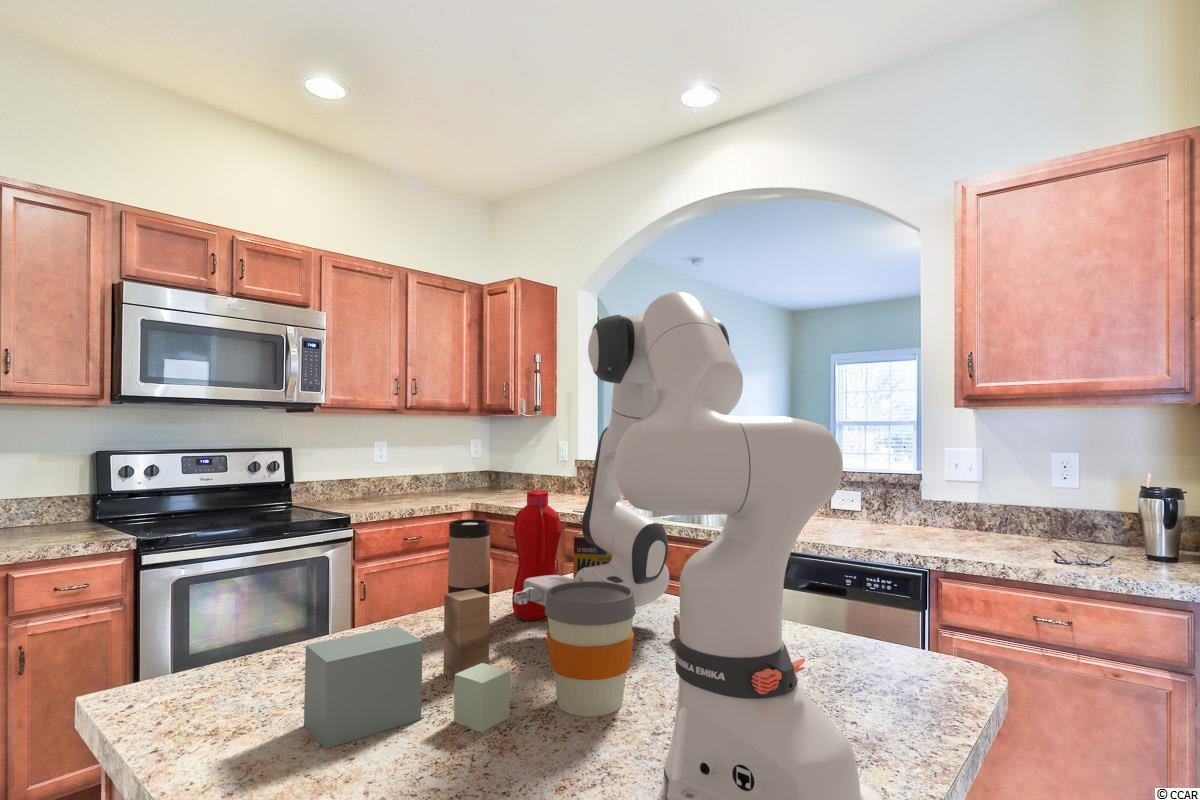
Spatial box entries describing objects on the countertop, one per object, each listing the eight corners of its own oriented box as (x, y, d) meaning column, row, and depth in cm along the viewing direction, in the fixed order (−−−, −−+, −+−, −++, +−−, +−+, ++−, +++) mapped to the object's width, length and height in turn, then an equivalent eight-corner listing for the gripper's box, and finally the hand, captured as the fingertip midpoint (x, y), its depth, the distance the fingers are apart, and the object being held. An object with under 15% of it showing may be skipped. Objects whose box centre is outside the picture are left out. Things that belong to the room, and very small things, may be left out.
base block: (421, 719, 83) (422, 640, 83) (324, 749, 75) (326, 662, 75) (395, 699, 89) (396, 626, 89) (303, 725, 81) (305, 644, 81)
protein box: (572, 613, 131) (572, 536, 132) (587, 594, 146) (587, 525, 147) (623, 616, 129) (623, 538, 130) (633, 596, 144) (633, 527, 145)
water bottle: (520, 626, 122) (521, 494, 123) (509, 610, 132) (510, 488, 134) (567, 621, 125) (567, 492, 126) (553, 607, 135) (554, 487, 137)
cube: (509, 717, 84) (510, 670, 84) (482, 732, 79) (482, 683, 80) (481, 708, 86) (482, 662, 87) (453, 722, 82) (454, 674, 82)
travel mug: (439, 634, 117) (441, 523, 118) (460, 622, 124) (461, 518, 125) (477, 638, 115) (478, 525, 116) (496, 625, 122) (497, 520, 123)
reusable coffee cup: (651, 695, 90) (651, 587, 91) (606, 731, 80) (607, 608, 80) (576, 677, 97) (576, 577, 97) (525, 708, 86) (526, 595, 87)
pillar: (488, 674, 98) (489, 595, 98) (459, 683, 95) (460, 600, 95) (472, 665, 102) (473, 589, 102) (443, 673, 98) (444, 594, 99)
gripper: (560, 563, 124) (498, 574, 115) (633, 584, 108) (569, 599, 99) (560, 596, 124) (498, 610, 115) (633, 622, 108) (568, 640, 99)
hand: (531, 605), depth 107 cm, fingers open, 8 cm apart
